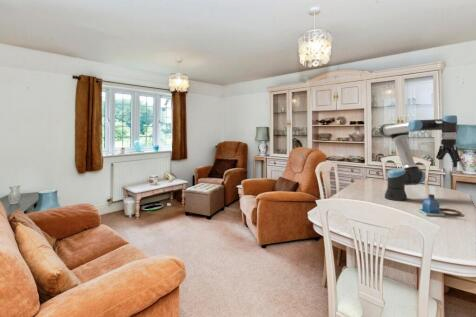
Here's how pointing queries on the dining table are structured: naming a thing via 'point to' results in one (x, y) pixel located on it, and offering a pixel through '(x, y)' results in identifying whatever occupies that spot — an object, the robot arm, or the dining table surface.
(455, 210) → the ring
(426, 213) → the tray
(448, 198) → the dining table surface
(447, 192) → the dining table surface
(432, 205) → the perfume bottle
